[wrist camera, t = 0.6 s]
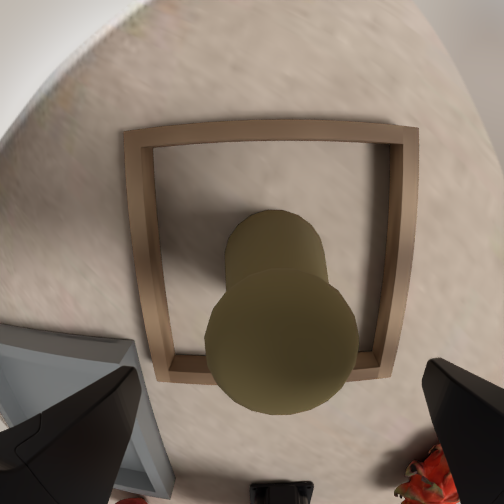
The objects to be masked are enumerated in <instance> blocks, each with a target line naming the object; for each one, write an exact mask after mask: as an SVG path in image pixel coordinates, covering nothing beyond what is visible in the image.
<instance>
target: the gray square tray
mask: <svg viewBox="0 0 504 504" xmlns="http://www.w3.org/2000/svg"><path fill="white" fill-rule="evenodd" d="M123 365H126V366H134V367H135V368H136V369H137V372H138V376H139V379H140V383H141V387H142V394H141V398H140V402H139V407H138V411H137V415H136V419H135V424H134V428H133V432H132V435H131V438H130V441H129V444H128V446H127V449H126V452H125V455H124V457H123V460H122V463H121V466H120V469H119V472H118V475H117V477H116V480H115V483H114V486H113V488H114V489H119V490H123V491H127V492H132V493H136V494H141V495H146V496H152V497H157V498H163V499H169V500H170V499H171V495H172V491H173V487H174V483H175V479H176V478H175V475H174V472H173V470H172V467H171V464H170V462H169V459H168V456H167V453H166V450H165V447H164V445H163V442H162V439H161V436H160V433H159V429H158V426H157V423H156V420H155V417H154V413H153V410H152V407H151V403H150V400H149V396H148V393H147V389H146V386H145V382H144V378H143V374H142V371H141V367H140V363H139V359H138V354H137V350H136V346H135V342H134V340H121V339H110V338H100V337H90V336H81V335H72V334H64V333H57V332H49V331H42V330H36V329H29V328H23V327H17V326H11V325H5V324H0V412H1V414H2V416H3V418H4V419H5V421H6V423H7V424H8V426H9V428H11V427H13V426H15V425H18V424H20V423H22V422H24V421H26V420H28V419H29V418H31V417H33V416H35V415H37V414H39V413H42V411H44V410H46V409H48V408H49V407H51V406H53V405H55V404H57V403H58V402H60V401H62V400H64V399H65V398H67V397H69V396H71V395H72V394H74V393H76V392H78V391H80V390H81V389H83V388H85V387H86V386H88V385H90V384H92V383H93V382H95V381H97V380H99V379H100V378H102V377H104V376H105V375H107V374H109V373H111V372H112V371H114V370H116V369H117V368H119V367H121V366H123Z"/></svg>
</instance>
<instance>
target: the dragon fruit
mask: <svg viewBox="0 0 504 504" xmlns="http://www.w3.org/2000/svg"><path fill="white" fill-rule="evenodd" d="M432 450H433V451H432ZM431 451H432V453H431V455H430V456H429V457H428V458H427V459H426V460H425V461H424V462H423V463H421V462H419V461H416V460H413V461H412V462H411V463H410V464H409V466H408V467H407V468H406V473H405V477H406V476H409V482H407V483H403V484H401V485H399V486H398V487H397V488H396V489H395V491H394V496H396V497H398V494H400V498H401V499H402V496H403V497H404V498H405V500H404V501H403V502H402V503H401V504H456V503H458V502H459V501H460V499H459V496H458V493H457V490H456V487H455V484H454V481H453V478H452V475H451V472H450V469H449V466H448V464H447V461H446V458H445V455H444V453H443V450H442V447H441V444H439V445H438V444H437V445H434V446H433V447H432V449H430V451H429V453H430V452H431ZM429 453H428V454H429Z"/></svg>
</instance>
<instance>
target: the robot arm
mask: <svg viewBox="0 0 504 504" xmlns="http://www.w3.org/2000/svg"><path fill="white" fill-rule="evenodd" d="M422 388H423V392H424V395H425V399H426V402H427V406H428V409H429V413H430V417H431V420H432V423H433V426H434V429H435V431H436V434H437V437H438V439H439V442H440V444H441V447H442V450H443V453H444V455H445V458H446V461H447V464H448V466H449V469H450V472H451V475H452V478H453V481H454V484H455V487H456V490H457V493H458V496H459V499H460V503H461V504H504V389H503V388H501V387H499V386H497V385H495V384H493V383H491V382H489V381H487V380H485V379H483V378H481V377H479V376H477V375H474V374H472V373H470V372H468V371H466V370H464V369H462V368H460V367H458V366H456V365H454V364H452V363H450V362H448V361H446V360H444V359H442V358H433V359H430V360H428V362H427V365H426V368H425V371H424V375H423V378H422ZM141 394H142V387H141V383H140V379H139V376H138V372H137V369H136V368H135V367H134V366H126V365H123V366H121V367H119V368H117V369H116V370H114V371H112V372H111V373H109V374H107V375H105V376H104V377H102V378H100V379H99V380H97V381H95V382H93V383H92V384H90V385H88V386H86V387H85V388H83V389H81V390H80V391H78V392H76V393H74V394H72V395H71V396H69V397H67V398H65V399H64V400H62V401H60V402H58V403H57V404H55V405H53V406H51V407H49V408H48V409H46V410H44V411H42V413H39V414H37V415H35V416H33V417H31V418H29V419H28V420H26V421H24V422H22V423H20V424H18V425H15V426H13V427H11V428H9V429H7V430H4V431H2V432H0V504H108V501H109V498H110V495H111V492H112V489H113V486H114V483H115V480H116V477H117V475H118V472H119V469H120V466H121V463H122V460H123V457H124V455H125V452H126V449H127V446H128V444H129V441H130V438H131V435H132V432H133V428H134V424H135V419H136V415H137V411H138V407H139V402H140V398H141ZM313 489H314V484H313V483H311V482H307V483H288V484H251V485H250V501H251V504H310V501H311V497H312V493H313Z"/></svg>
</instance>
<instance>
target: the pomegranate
mask: <svg viewBox="0 0 504 504" xmlns="http://www.w3.org/2000/svg"><path fill="white" fill-rule="evenodd" d="M115 504H148V503H147V502H146V501H145V500H144V499H143V498H139V497H138V498H128V499H124V500H120V501H119V502H117V503H115Z"/></svg>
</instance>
